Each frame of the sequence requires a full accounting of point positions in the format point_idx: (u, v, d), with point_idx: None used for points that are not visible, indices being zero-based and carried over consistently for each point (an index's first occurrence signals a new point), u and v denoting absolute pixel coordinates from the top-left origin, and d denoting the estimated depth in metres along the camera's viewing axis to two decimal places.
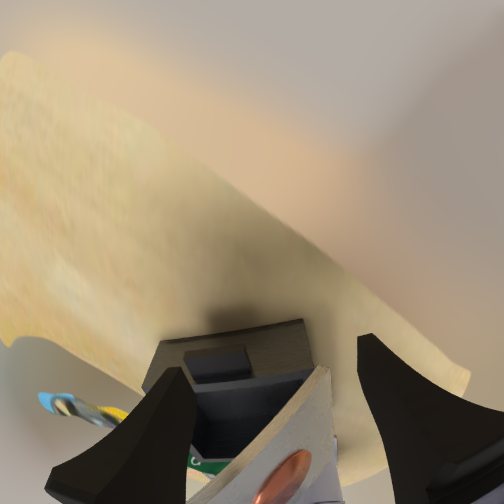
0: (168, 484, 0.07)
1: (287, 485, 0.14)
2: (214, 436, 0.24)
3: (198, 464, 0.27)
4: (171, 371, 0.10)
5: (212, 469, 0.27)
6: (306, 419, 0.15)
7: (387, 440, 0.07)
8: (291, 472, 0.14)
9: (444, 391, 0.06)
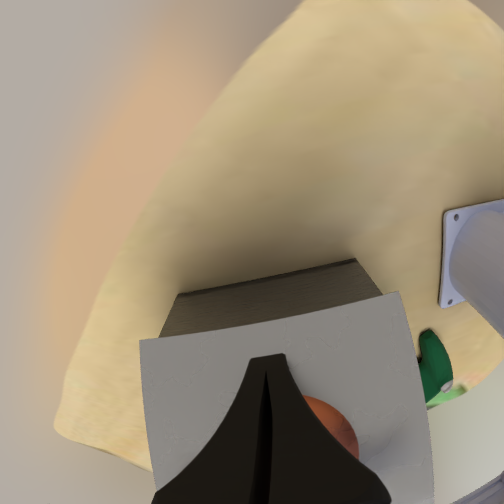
0: None
1: None
2: None
3: None
4: (258, 361, 0.10)
5: (436, 382, 0.19)
6: (176, 397, 0.12)
7: None
8: None
9: (322, 429, 0.06)
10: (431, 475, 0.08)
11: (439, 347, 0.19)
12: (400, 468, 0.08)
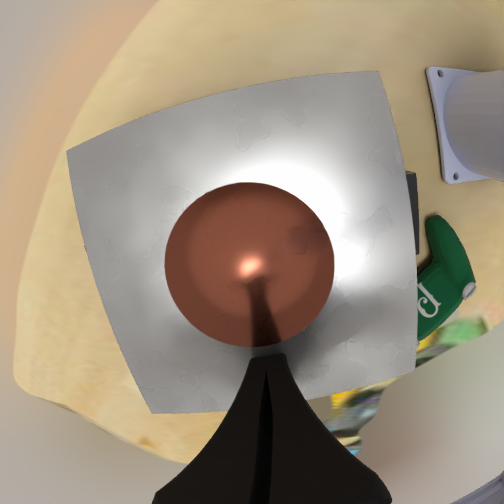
0: None
1: (251, 266, 0.10)
2: None
3: (438, 305, 0.16)
4: (258, 361, 0.10)
5: (456, 283, 0.15)
6: (112, 207, 0.10)
7: None
8: (211, 254, 0.10)
9: (322, 429, 0.06)
10: (415, 305, 0.10)
11: (452, 233, 0.15)
12: (382, 289, 0.10)
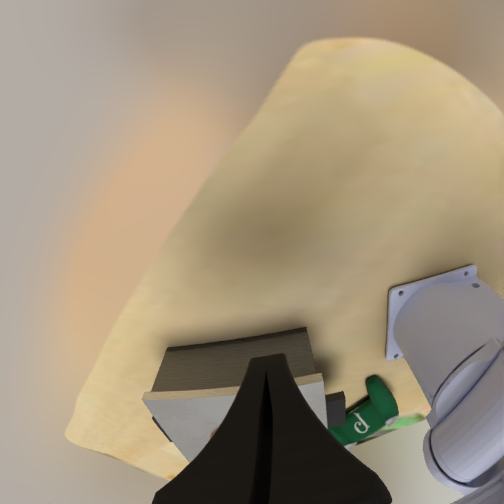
0: None
1: None
2: None
3: (367, 427, 0.24)
4: (259, 361, 0.10)
5: (381, 417, 0.23)
6: (179, 423, 0.18)
7: None
8: None
9: (322, 429, 0.06)
10: None
11: (381, 391, 0.23)
12: None
